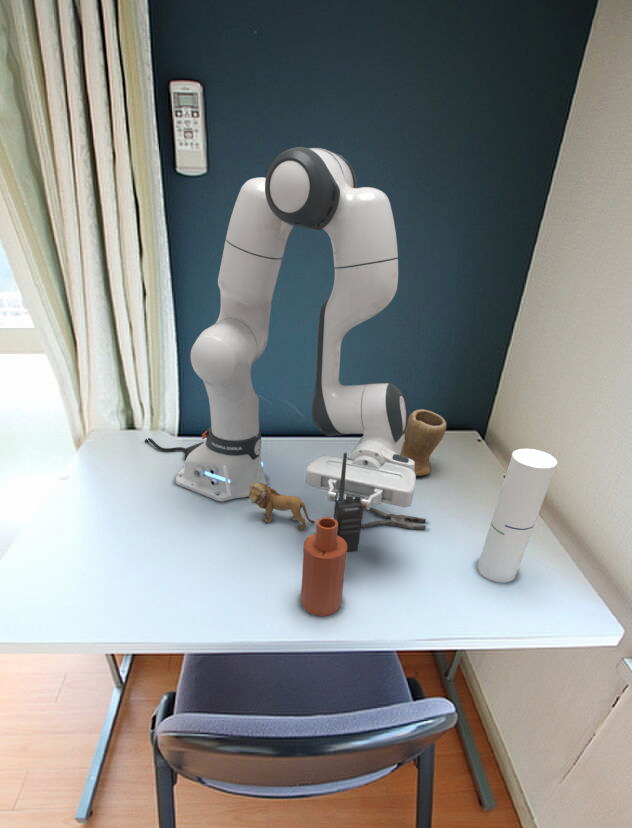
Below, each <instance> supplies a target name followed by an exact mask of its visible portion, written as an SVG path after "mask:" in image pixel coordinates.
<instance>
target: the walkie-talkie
mask: <svg viewBox="0 0 632 828" xmlns="http://www.w3.org/2000/svg"><path fill="white" fill-rule="evenodd" d="M347 458H348V453H347V452H343V456H342V459H343V464H342V473H341V482H340V490H339V493H338V498H337V500H336V501H335V502H334V511H333V512H334V513H333V519H335V520H336V521H337V522H338V531H337V535H338V536H340V537H341V538H343V539H344V541H345V542H346V543H347V554H348V553H357V552H358V551H359V547H360V538H361V530H362V527H361V524H363V517H364V508H361V505H362V500H361V499H362V498H361V496H360V495H356V496H353V495H352V494H347V495H346V494H344V487H345V474H346V460H347Z"/></svg>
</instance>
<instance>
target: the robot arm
mask: <svg viewBox="0 0 632 828" xmlns="http://www.w3.org/2000/svg"><path fill="white" fill-rule="evenodd" d="M295 227H297V228H301V229H302V228H303V229H309V230H314V231H321V230H323V231H324V232H325V233H326V234H327V235H328V237H329V240H330V244H331V248H332V256H333V267H334V270H333V271H334V278H333V279H334V280H333V287H332V291H331V293H330V295H329V298H328V299H327V300H325V301H324V302H323V303H322V305H321V308H320V312H319V316H318V326H317V338H316V339H317V340H316V360H315V380H314V381H315V383H314V393H313V399H312V407H311V408H312V409H311V417H312V423H313V425H314V426H315V427H316V428H317V429H318V430H319V431H320V432H322V434H324V435H325V436H327V437H333V436H334V437H335V436H343V435H362V436H361V437H360V439H359V441H358V443H357V444H356V445H355V446H354V448H353V449H352V451H351V452H350V454H349V455H348V456H347V460H346V474H345V487H344V495H345V496H346V495H347V494H352V495H353V497H355V496H356V495H360V496H361V498H360V499H362V500H361V503H362V505H361V508H363V510H367V509H368V510H367V511H370V508H371V507H373V506H376V505H378V504H381V503H383V504H387V505H392V506H395V507H396V506H397V507H400V508H409V507H411V506H412V504H413V498H414V494H415V489H416V488H415V487H416V482H417V476H416V475H415V472H414V469H415V462H414V461H413V460H411V459H409V458H406V457H403V456H401V455H400V454H401V451H402V448H403V443H404V441H405V430H406V427H407V422H408V417H409V416H408V405H407V404H408V403H407V400H406V397H405V395H404V394H403V392H402V391H401V390H400V389H399V387H397V386H396V385H395V384H394V383H391V382H387V383H385V382H384V383H367V384H351V385H350V384H349V385H344V384H341V382H340V365H341V353H342V352H341V350H342V343H343V340H344V337H345V335H346V334H347V333H348V332H349V331H350V330H351V329H353V328H355V327H357V326H359V325H360V324H362V323H364V322H366V321H367V320H369V319H372V318H373V317H375V316H377V315H378V314H380V313H381V312H382V311H383V310H385V309H386V308H387V307H388V305H390V303H391V302H392V301H393V299H394V297H395V295H396V293H397V290H398V284H399V252H398V239H397V231H396V225H395V220H394V215H393V210H392V205H391V202H390V198H389V197H388V196H387V194H386V193H385V192H384V191H382V190H380V189H379V188H375V187H371V186H361V187H358V181H357V176H356V173H355V171H354V169H353V166H352V165H351V164H350V162H349V161H348V159H346V158H345V157H344V156H343V155H341V154H338V153H335V152H332V151H331V150H328V149H325V148H322V147H310V148H308V147H305V146H295V147H291V148H289V149H286V150H284V151H283V152H281V153H280V154H278V155H277V156H276V157H275V158H274V160H272V162H271V164H270V166H269V167H268V169H267V173H266V175H265V177H263V176H261V177H253V178H249V179H248V180H247V181H246V182H244V183H243V184H242V186H241V188H240V190H239V192H238V195H237V198H236V200H235V203H234V206H233V209H232V213H231V216H230V219H229V222H228V227H227V230H226V231H227V232H226V235H225V241H224V246H223V250H222V251H223V252H222V256H221V261H220V267H219V272H218V278H217V285H218V289H219V291H220V292H219V294H220V310H219V315H218V318H217V320H216V322H215V323H214V324H212V325H210V326H209V327H207V328H205V329H204V330H203V331H202V332H201V333H200V334H199V336H198V337H197V338H196V340H195V341H194V343H193V345H192V347H191V350H190V363H191V366H192V369H193V371H194V372H195V374H196V375H197V377H199V378H200V379H201V380H202V382H203V384H204V387H205V390H206V394H207V398H208V404H209V414H210V427H207V429H205V431H204V433H203V434H201V436H202V437H201V440H204V439H206V440H205V441H201V442H198V443H196V444H193V445H189V446H188V447H181V446H177V447H169V448H168V447H162V446H160V445H158V443H156V442H155V441H154V440H153V439H152V438H151V437H147V438H148V440H149V441H148V440H147V438H145V439H144V443H148V442H150V444H152V445H153V447H155V448H156V449H157V450H159V451H162V452H175V451H176V452H177V451H183V452H184V465H183V467H182V468H181V469H180V470H179V471H178V472H177V474H176V476H175V484H176V485H177V486H180V487H182V488H185V489H187V490H189V491H191V492H192V491H193V492H195V493H196V494H197V493H198V494H199V495H202V496H205V497H207V498H209V499H212V500H214V501H216V502H222V503H223V502H227V501H231V500H233V499H241V498H247V497H249V491H250V486H252V485H253V484H254V483H262V484H265V485H267V479H266V475H265V473H264V469H263V467H264V462H263V461H262V457H261V454H262V429H261V428H260V399H259V396H258V394H257V393H256V391H255V389H254V385H253V381H252V366H253V364H254V363H255V362H256V361H258V360H259V359H260V357H262V355H263V354H264V352H265V350H266V347H267V344H268V342H269V337H270V334H269V333H270V332H269V328H270V327H269V326H270V320H271V309H272V303H273V302H272V301H273V297H274V292H275V288H276V284H277V281H278V276H279V273H280V269H281V265H282V262H283V258H284V255H285V254H284V253H285V251H286V250H285V249H286V246H287V241H288V238H289V236H290V233H291V232H292V230H293V229H294V228H295ZM342 464H343V457H337V456H332V455H322V456H318V457H317V458H316V459H314V460H313V461H311V463H309V465H307V466H306V469H305V476H304V478H305V484H306V486H308V487H311V488H315V489H320V490H324V491H326V492H327V494H326V500H327V501H328V502H334V503H335V501H336V500H338V498H339V490H340V482H341V473H342Z"/></svg>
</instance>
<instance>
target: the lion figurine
mask: <svg viewBox="0 0 632 828" xmlns="http://www.w3.org/2000/svg"><path fill="white" fill-rule="evenodd" d="M248 497H249V501H250V502H251V504H253V505H254V504H255V505H256V506H258V508H259V509H264V510H265V516H266V518H265V519H264V521H265V523H266V524H268V523H270V522H271V521H272V519H273V518H272V517H273V516H272V515H273V511H274V510H275V511H281V512H285V511H290V512H291V514H292V516H291V519H292V520H293V521H299V523H301V524H299V526H298V527H299V529H300V530H305V528H306V527H307V523H306V520H307V522H308V523H310V524H315V520H312V519H310V518H309V514H308V510H307V507H306V505H305V503H304V502H303V500H302V499H301V498H300V497H298V496H296V495H285V494H279V493H278V492H277V490H276V489H274V488H272V487H271V486H268V484H266V485H265V484H262V483H254V484H253V485H252V486H250V491H249V496H248ZM301 509H302V510H303V513H304V516H305V518H304V517H303V515H302V512H301Z"/></svg>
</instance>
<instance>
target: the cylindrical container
mask: <svg viewBox="0 0 632 828" xmlns="http://www.w3.org/2000/svg"><path fill="white" fill-rule="evenodd" d="M508 463H509V464H508V467H507V470H506V472H505V476H504V480H503V482H502V485H501V489H500V492H499V495H498V499H497V502H496V506H495V508H494V512H493V515H492V519H491V522H490V525H489V528H488V531H487V535H486V537H485V541H484V545H483V546H482V547H483V548H482V551H481V553H480V557H479V561H478V564H477V570H478V572H479V574H480V575H482V577H484V578H485V579H487V580H488V581H489V580H490V581H491V582H495V583H502V584H503V583H510V582H512V581H513V580H515V579H516V576H517V573H518V570H519V568H520V565H521V562H522V559H523V557H524V554H525V552H526V549H527V546H528V543H529V540H530V538H531V535H532V532H533V529H534V527H535V525H536V522H537V519H538V516H539V513H540V511H541V508H542V505H543V503H544V500H545V497H546V495H547V492H548V490H549V487H550V484H551V481H552V478H553V477H554V473H555V470H556V468H557V466H558V460H557V459H556V457H555V456H553V455H552V454H550V453H548V452H545V451H543V450H540V449H539V450H538V449H536V448H535V449H534V448H517V449H515V450H513V451H512V453H511V457H510V461H509V462H508Z"/></svg>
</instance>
